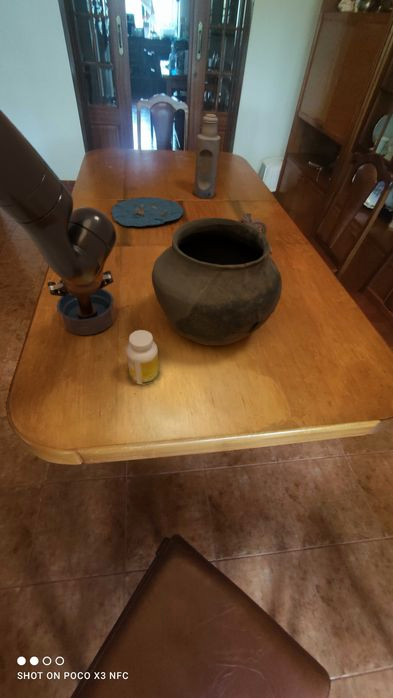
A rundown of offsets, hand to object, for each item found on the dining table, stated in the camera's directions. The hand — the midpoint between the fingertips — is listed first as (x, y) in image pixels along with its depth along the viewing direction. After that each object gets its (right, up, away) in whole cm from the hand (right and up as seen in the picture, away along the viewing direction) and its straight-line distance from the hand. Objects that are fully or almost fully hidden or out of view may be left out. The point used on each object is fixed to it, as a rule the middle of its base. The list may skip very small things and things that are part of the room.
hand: (81, 290), depth 76 cm
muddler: (+1, -6, +4) cm, 7 cm away
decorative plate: (+8, +40, +52) cm, 66 cm away
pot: (+32, -9, +8) cm, 34 cm away
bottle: (+31, +57, +70) cm, 96 cm away
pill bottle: (+16, -20, -4) cm, 26 cm away
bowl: (0, -6, +7) cm, 9 cm away
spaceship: (+49, +25, +42) cm, 69 cm away
